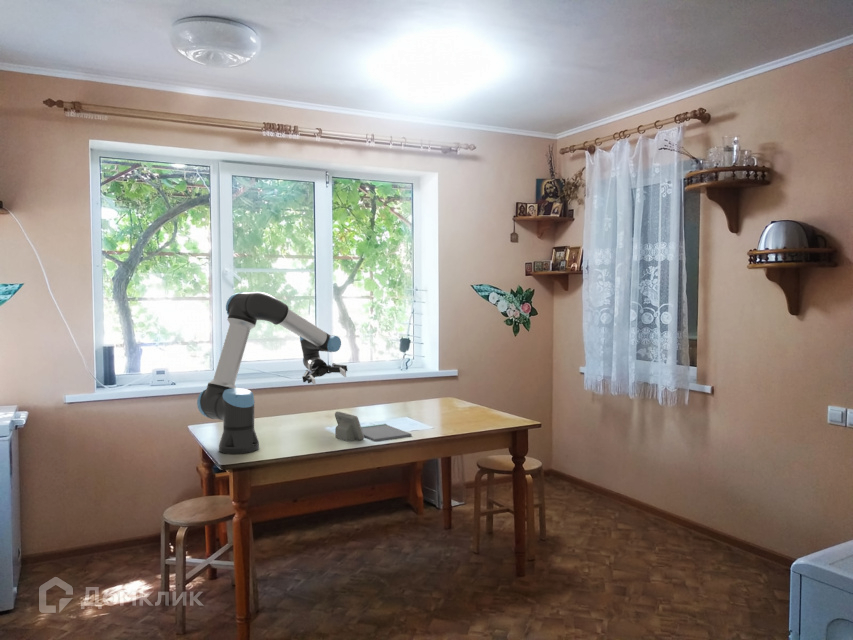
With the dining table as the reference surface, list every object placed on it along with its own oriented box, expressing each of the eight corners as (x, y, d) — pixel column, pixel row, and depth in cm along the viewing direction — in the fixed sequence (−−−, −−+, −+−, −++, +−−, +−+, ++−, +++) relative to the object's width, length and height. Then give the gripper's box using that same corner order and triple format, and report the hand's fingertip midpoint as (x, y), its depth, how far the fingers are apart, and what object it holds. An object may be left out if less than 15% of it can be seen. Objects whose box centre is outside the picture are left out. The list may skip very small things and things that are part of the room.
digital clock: (365, 440, 251) (365, 415, 251) (345, 443, 247) (345, 417, 247) (351, 433, 265) (350, 409, 265) (331, 435, 261) (331, 411, 261)
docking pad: (374, 441, 249) (374, 438, 249) (349, 430, 270) (349, 427, 270) (411, 436, 259) (411, 433, 259) (384, 426, 279) (384, 423, 279)
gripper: (344, 367, 282) (358, 378, 263) (292, 381, 273) (303, 393, 254) (342, 352, 281) (355, 362, 261) (289, 365, 271) (299, 377, 252)
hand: (329, 377), depth 258 cm, fingers open, 13 cm apart
